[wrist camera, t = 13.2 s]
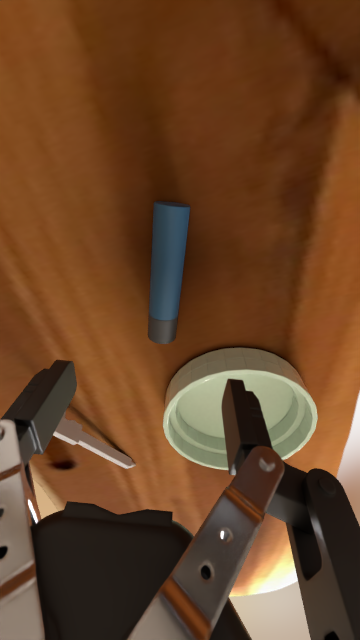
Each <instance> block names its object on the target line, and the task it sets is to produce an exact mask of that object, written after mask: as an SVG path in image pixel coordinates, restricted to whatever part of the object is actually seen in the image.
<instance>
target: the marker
mask: <svg viewBox="0 0 360 640" xmlns="http://www.w3.org/2000/svg"><path fill="white" fill-rule="evenodd" d="M189 214H190V206H189V205H187V204H182V203H176V202H166V201H156V202H154V212H153V234H152V256H151V278H150V300H149V322H148V337H149V339H150V340H151V341H153V342H155V343H159V344H167V343H170V342H172V341H174V339H175V338H176V329H177V320H178V312H179V303H180V294H181V285H182V276H183V267H184V258H185V249H186V240H187V232H188V223H189Z"/></svg>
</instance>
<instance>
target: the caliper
mask: <svg viewBox="0 0 360 640" xmlns="http://www.w3.org/2000/svg"><path fill="white" fill-rule="evenodd" d="M65 412H66V411H65ZM53 435H54V436H56V437H58V438H60V439H62V440H64V441H66V442H68V443H70V444H73V445H74V444H79V445H81V446H83V447H85V448H87V449H89V450H91V451H93V452H94V453H96V454H98V455H100V456H102V457H104V458H106V459H108V460H110V461H112V462H114V463H116V464H118V465H120V466H122V467H124V468H126V469H127V468H131V467H134V466H136V464H135V463H133V462H132V459H131V458H130V457H128V456H126V455H124V454H122V453H121V452H119V451H117V450H115V449H113V448H112V447H110V446H108V445H106V444H104V443H103V442H101V441H99V440H97V439H96V438H94V437H92V436H90V435H89V434H87V433H85V432H83V431H82V425H81V424H78V423H77V422H76V421H73V420H67V419H65V413H64V415H63V417H62V419H61V421H60V422H59V424H58V426H57V428H56V430H55V432H54V434H53Z"/></svg>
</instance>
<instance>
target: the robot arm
mask: <svg viewBox="0 0 360 640" xmlns="http://www.w3.org/2000/svg"><path fill="white" fill-rule="evenodd" d="M76 386H77V382H76V375H75V369H74V363H73V362H72V361H65V360H56V361H55V362H54V363H53V365H52V366H51V367H50V369H43V370H42V371H40V372H39V373H38V374H36V375H35V376H34V377H33V378H32V380H31V381H30V382H29V383H28V385H27V386H26V387H25V389H24V390H23V392H22V393H21V394H20V395H19V396H18V398H17V399H16V400H15V402H14V403H13V404H12V405H11V407H10V408H9V409H8V411H7V412H6V413H5V414H4V416H3V417H2V418H1V419H0V640H252V639H251V637H250V635H249V634H248V632H247V630H246V628H245V626H244V624H243V622H242V621H241V619H240V617H239V615H238V613H237V612H236V610H235V608H234V606H233V604H232V603H231V601H230V599H229V597H228V596H229V594H230V592H231V590H232V587H233V585H234V583H235V581H236V579H237V577H238V574H239V572H240V570H241V568H242V566H243V563H244V561H245V559H246V557H247V555H248V553H249V550H250V548H251V546H252V544H253V542H254V539H255V537H256V535H257V533H258V531H259V529H260V526H261V524H262V522H263V519H264V515H265V513H267V514H269V515H271V516H273V517H276V518H278V519H280V520H282V521H284V522H286V526H287V531H288V535H289V540H290V545H291V549H292V554H293V559H294V563H295V568H296V573H297V577H298V582H299V587H300V591H301V596H302V600H303V605H304V610H305V615H306V619H307V624H308V629H309V633H310V637H311V640H360V526H359V524H358V521H357V519H356V517H355V514H354V512H353V510H352V507H351V505H350V502H349V500H348V498H347V495H346V493H345V491H344V489H343V487H342V485H341V483H340V482H339V481H338V480H337V479H336V478H335V477H334V476H333V475H332V474H330V473H329V472H327V471H325V470H322V469H317V468H315V469H311V470H310V471H309V472H308V473H306V472H304V471H301V470H299V469H297V468H294V467H292V466H290V465H288V464H286V463H285V462H284V461H283V460H282V459H281V457H280V456H279V454H278V453H277V452H275V451H274V449H273V447H272V444H271V440H270V437H269V433H268V430H267V426H266V423H265V419H264V416H263V412H262V411H261V405H260V402H259V399H258V398H257V397H256V395H255V394H254V393H253V391H246V389H245V385H244V381H243V380H239V379H229V378H228V380H227V383H226V387H225V390H224V394H223V398H222V405H221V409H222V419H223V427H224V435H225V444H226V452H227V461H228V469H229V474H230V475H235V477H234V479H233V480H232V482H231V483H230V485H229V486H228V487H226V488H225V490H224V491H223V493H222V494H221V496H220V497H219V499H218V500H217V502H216V504H215V505H214V507H213V508H212V510H211V511H210V513H209V515H208V516H207V518H206V519H205V521H204V522H203V524H202V525H201V527H200V529H199V530H198V532H197V533H196V535H195V536H193V535H192V534H191V533H190V532H189V531H188V530H187V529H186V528H185V527H184V526H182V525H181V524H179V523H177V522H175V521H173V520H172V513H173V512H169V511H159V510H149V509H146V510H141V511H136V512H131V513H126V514H121V515H117V514H115V513H112V512H110V511H108V510H106V509H103V508H101V507H99V506H97V505H94V504H88V503H78V502H68V501H67V504H66V506H65V509H64V510H62V511H58V512H56V513H53V514H51V515H49V516H46V517H45V518H43V519H41V516H40V512H39V509H38V505H37V501H36V495H35V490H34V485H33V479H32V474H31V469H30V464H29V461H30V459H31V457H32V455H33V454H42V455H43V453H44V451H45V449H46V447H47V445H48V443H49V441H50V439H51V438H52V436H53V434H54V432H55V430H56V428H57V426H58V424H59V422H60V421H61V419H62V417H63V415H64V413H65V411H66V409H67V407H68V406H69V404H70V402H71V400H72V398H73V396H74V394H75V391H76Z"/></svg>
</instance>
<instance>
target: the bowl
mask: <svg viewBox="0 0 360 640" xmlns="http://www.w3.org/2000/svg"><path fill="white" fill-rule="evenodd" d="M228 378H229V379H239V380H243V381H244V385H245V389H246V391H253V393H254V394H255V395H256V397H257V398H258V399H259V402H260V405H261V411H262V412H263V416H264V419H265V423H266V426H267V430H268V433H269V437H270V440H271V444H272V447H273V449H274V451H275V452H277V453H278V454H279V456H280V457H281V459H282V460H284V459H286V458H288V457H290V456H291V455H293V454H294V453H296V452H297V451H298V450H300V449H301V448H302V447H303V446H304V445H305V444H306V443H307V442H308V441H309V439H310V438H311V436H312V434H313V432H314V431H315V428H316V423H317V418H318V417H317V410H316V405H315V403H314V401H313V400H312V398H311V396H310V394H309V392H308V390H307V388H306V387H305V385H304V383H303V381H302V379H301V377H300V375H299V374H298V372H297V371H296V370H295V369H294V368H293V367H292V366H291V365H290V364H289V363H288V362H287V361H285V360H284V359H282V358H280V357H278V356H277V355H275V354H272V353H269V352H266V351H263V350H260V349H251V348H241V347H240V348H226V349H220V350H216V351H212V352H209V353H206V354H204V355H201V356H199V357H197V358H195V359H193V360H191V361H190V362H189V363H187V364H186V365H185V366H183V367H182V368H181V369H180V370H179V371H178V372H177V373H176V375H175V376H174V377H173V378H172V379H171V382H170V384H169V386H168V388H167V392H166V401H165V409H164V418H163V428H164V432H165V436H166V438H167V439H168V441H169V443H170V444H171V446H172V447H173V448H174V449H175V450H176V451H177V452H178V453H179V454H181V455H182V456H184V457H186V458H187V459H189V460H191V461H193V462H195V463H198V464H200V465H203V466H207V467H211V468H215V469H223V470H229V469H228V461H227V452H226V444H225V435H224V427H223V419H222V409H221V405H222V398H223V394H224V390H225V387H226V383H227V380H228Z"/></svg>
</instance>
